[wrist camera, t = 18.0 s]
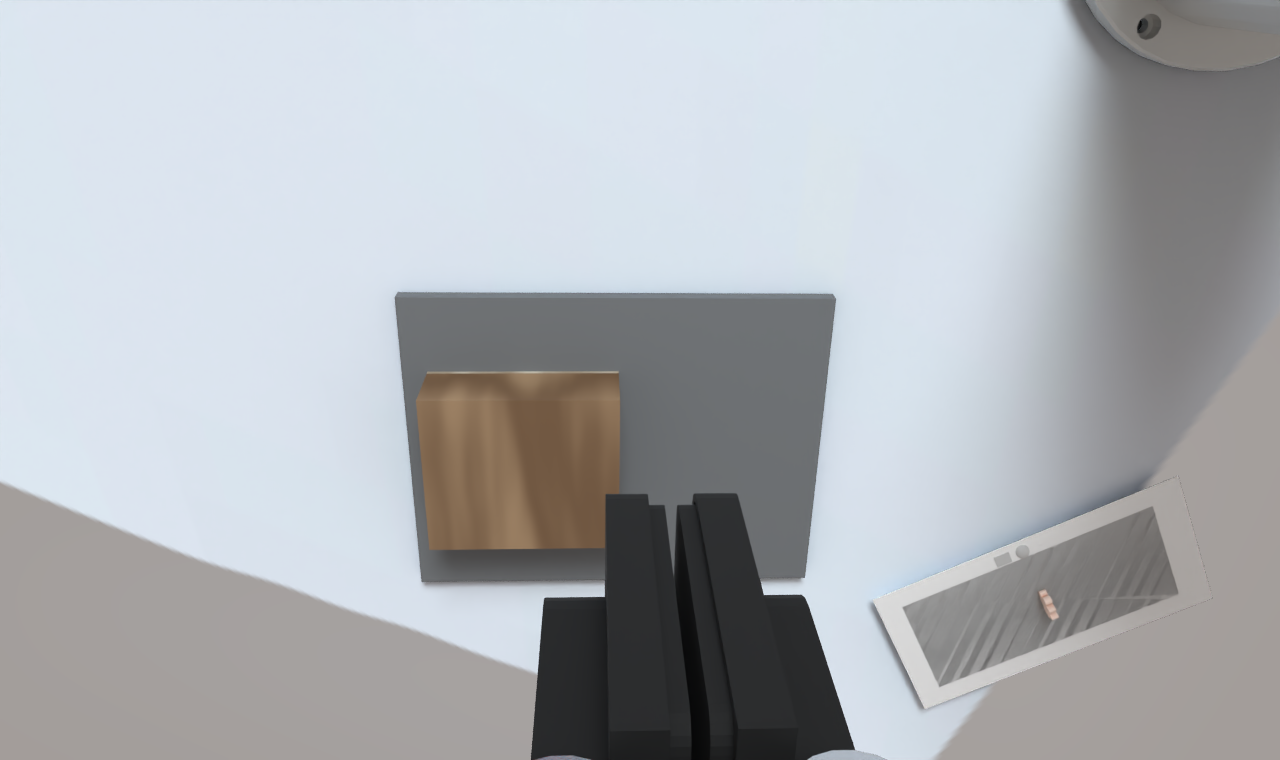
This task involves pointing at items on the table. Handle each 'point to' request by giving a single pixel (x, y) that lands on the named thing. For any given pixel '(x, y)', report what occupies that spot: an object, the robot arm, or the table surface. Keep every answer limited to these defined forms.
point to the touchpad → (1048, 594)
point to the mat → (648, 404)
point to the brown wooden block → (518, 458)
